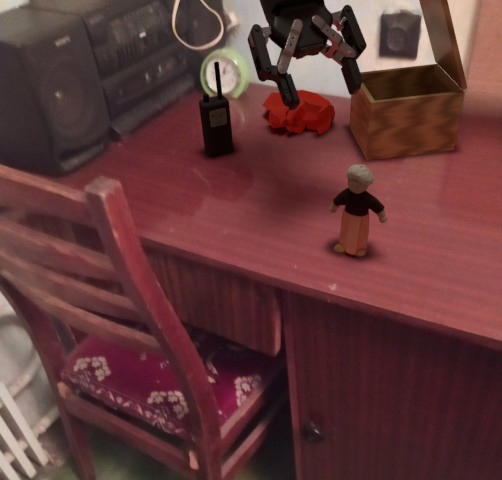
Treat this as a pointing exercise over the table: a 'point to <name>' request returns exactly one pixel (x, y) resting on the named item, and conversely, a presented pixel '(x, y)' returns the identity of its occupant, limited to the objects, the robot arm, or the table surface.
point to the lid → (443, 39)
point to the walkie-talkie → (216, 121)
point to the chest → (406, 112)
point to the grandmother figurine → (356, 211)
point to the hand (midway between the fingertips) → (325, 99)
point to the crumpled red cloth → (300, 112)
